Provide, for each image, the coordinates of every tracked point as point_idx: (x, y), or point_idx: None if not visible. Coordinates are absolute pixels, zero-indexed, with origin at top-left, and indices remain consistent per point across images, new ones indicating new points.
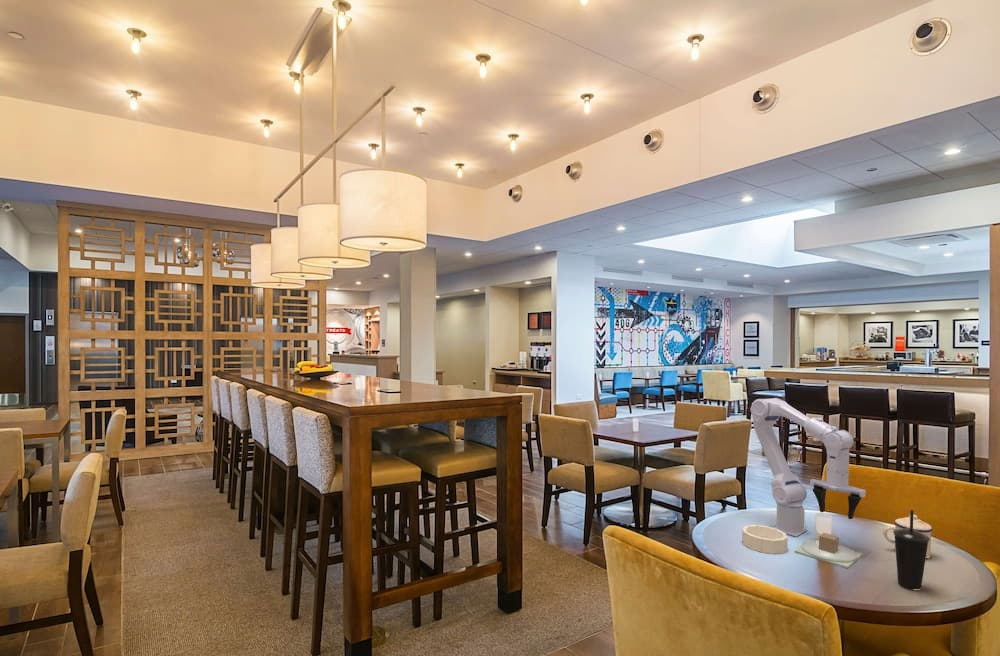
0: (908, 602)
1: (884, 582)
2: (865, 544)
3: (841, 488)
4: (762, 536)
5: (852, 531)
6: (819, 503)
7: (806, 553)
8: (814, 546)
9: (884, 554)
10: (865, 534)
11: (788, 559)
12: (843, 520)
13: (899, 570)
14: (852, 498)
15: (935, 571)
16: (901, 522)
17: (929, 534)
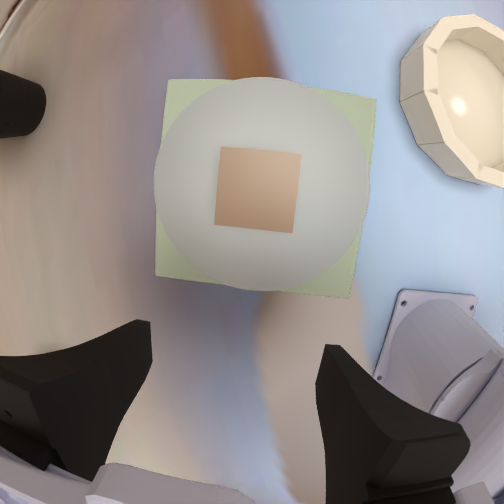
0: (37, 12)
1: (72, 72)
2: (183, 386)
3: (61, 502)
4: (493, 167)
5: (243, 457)
6: (361, 374)
7: (330, 98)
8: (319, 181)
9: None
10: (209, 454)
11: (364, 17)
12: (280, 499)
13: (13, 76)
14: (2, 370)
15: (14, 286)
16: None
17: None
